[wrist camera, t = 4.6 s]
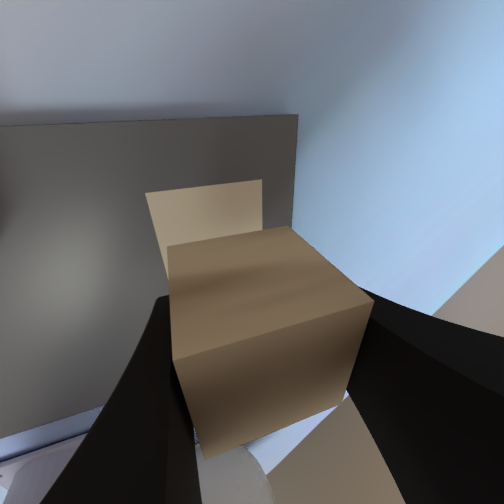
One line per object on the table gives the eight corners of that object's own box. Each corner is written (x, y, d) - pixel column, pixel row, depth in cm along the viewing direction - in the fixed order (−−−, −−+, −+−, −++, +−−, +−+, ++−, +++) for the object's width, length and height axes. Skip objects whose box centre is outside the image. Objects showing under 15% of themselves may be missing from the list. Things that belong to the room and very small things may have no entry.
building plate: (279, 338, 22) (284, 347, 21) (-14, 429, 16) (-23, 446, 15) (289, 114, 13) (298, 114, 12) (-386, 142, 7) (-461, 146, 6)
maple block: (282, 310, 11) (341, 403, 8) (188, 336, 10) (204, 460, 7) (287, 225, 9) (374, 300, 5) (166, 246, 8) (172, 360, 4)
